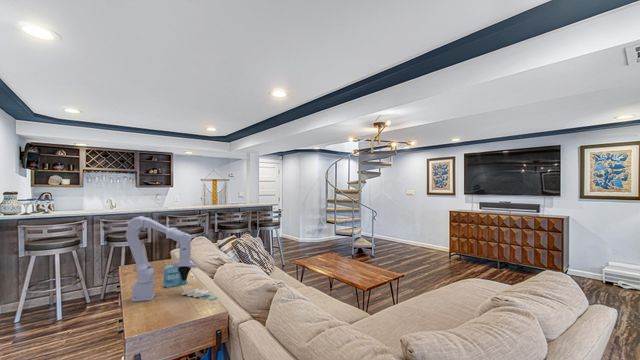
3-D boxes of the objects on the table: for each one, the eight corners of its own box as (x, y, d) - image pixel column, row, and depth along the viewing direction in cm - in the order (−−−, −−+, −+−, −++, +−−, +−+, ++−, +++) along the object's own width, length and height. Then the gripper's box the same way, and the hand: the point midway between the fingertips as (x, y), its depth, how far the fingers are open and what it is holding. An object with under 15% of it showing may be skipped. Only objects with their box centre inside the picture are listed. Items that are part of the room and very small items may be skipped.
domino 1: (181, 293, 155) (194, 290, 153) (186, 290, 159) (199, 287, 157) (181, 295, 155) (194, 292, 153) (187, 292, 159) (199, 290, 157)
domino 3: (192, 295, 153) (206, 292, 151) (198, 292, 157) (211, 289, 154) (193, 297, 153) (206, 294, 150) (198, 294, 157) (211, 292, 154)
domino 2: (186, 294, 154) (200, 291, 152) (192, 291, 158) (205, 288, 156) (187, 296, 154) (200, 293, 152) (192, 293, 158) (205, 291, 155)
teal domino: (198, 296, 152) (212, 299, 149) (204, 294, 156) (217, 296, 153) (198, 298, 152) (212, 301, 149) (203, 296, 156) (217, 299, 153)
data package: (165, 288, 167) (165, 268, 168) (163, 286, 170) (163, 266, 171) (186, 284, 175) (187, 264, 176) (184, 282, 178) (184, 263, 179)
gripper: (168, 256, 156) (167, 281, 155) (191, 257, 153) (191, 283, 152) (177, 253, 163) (176, 277, 162) (199, 255, 160) (199, 279, 159)
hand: (184, 280), depth 158 cm, fingers closed
